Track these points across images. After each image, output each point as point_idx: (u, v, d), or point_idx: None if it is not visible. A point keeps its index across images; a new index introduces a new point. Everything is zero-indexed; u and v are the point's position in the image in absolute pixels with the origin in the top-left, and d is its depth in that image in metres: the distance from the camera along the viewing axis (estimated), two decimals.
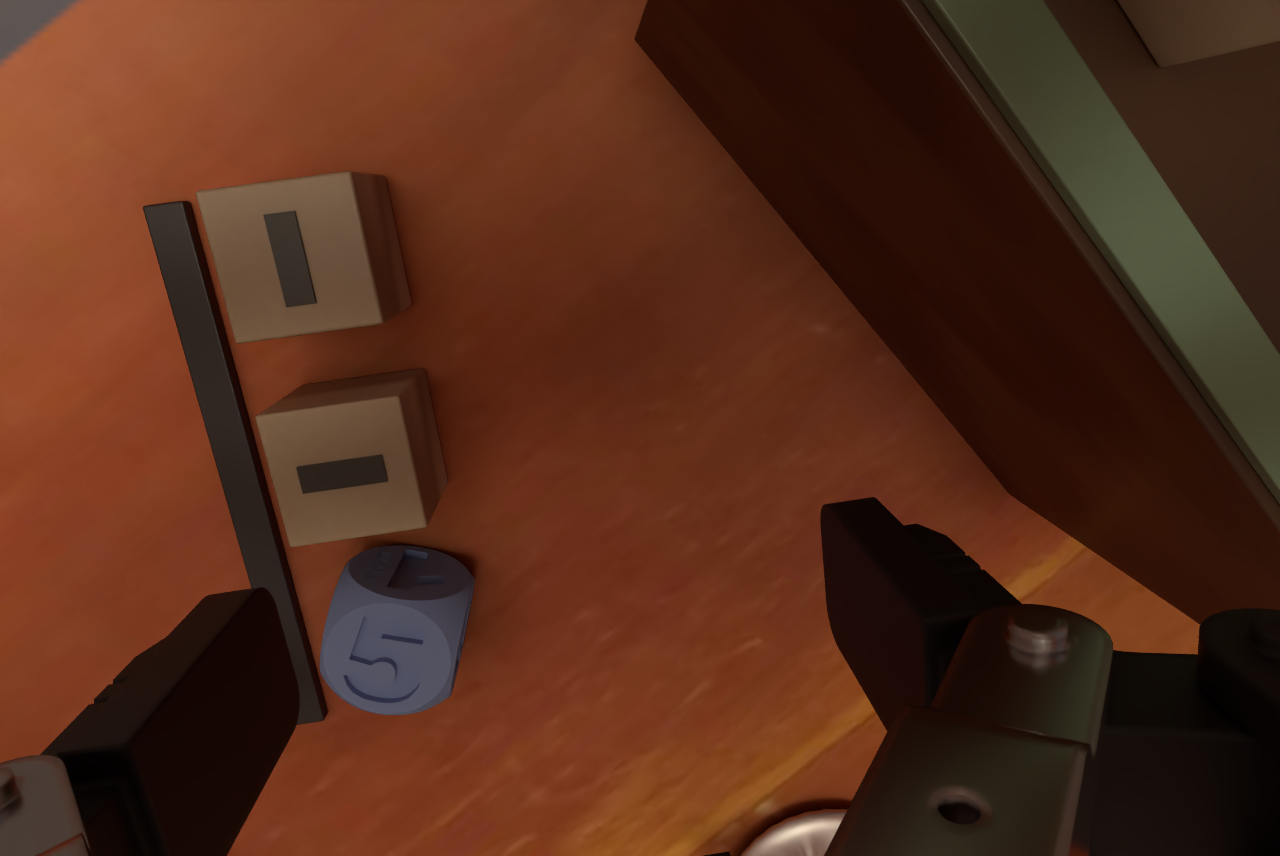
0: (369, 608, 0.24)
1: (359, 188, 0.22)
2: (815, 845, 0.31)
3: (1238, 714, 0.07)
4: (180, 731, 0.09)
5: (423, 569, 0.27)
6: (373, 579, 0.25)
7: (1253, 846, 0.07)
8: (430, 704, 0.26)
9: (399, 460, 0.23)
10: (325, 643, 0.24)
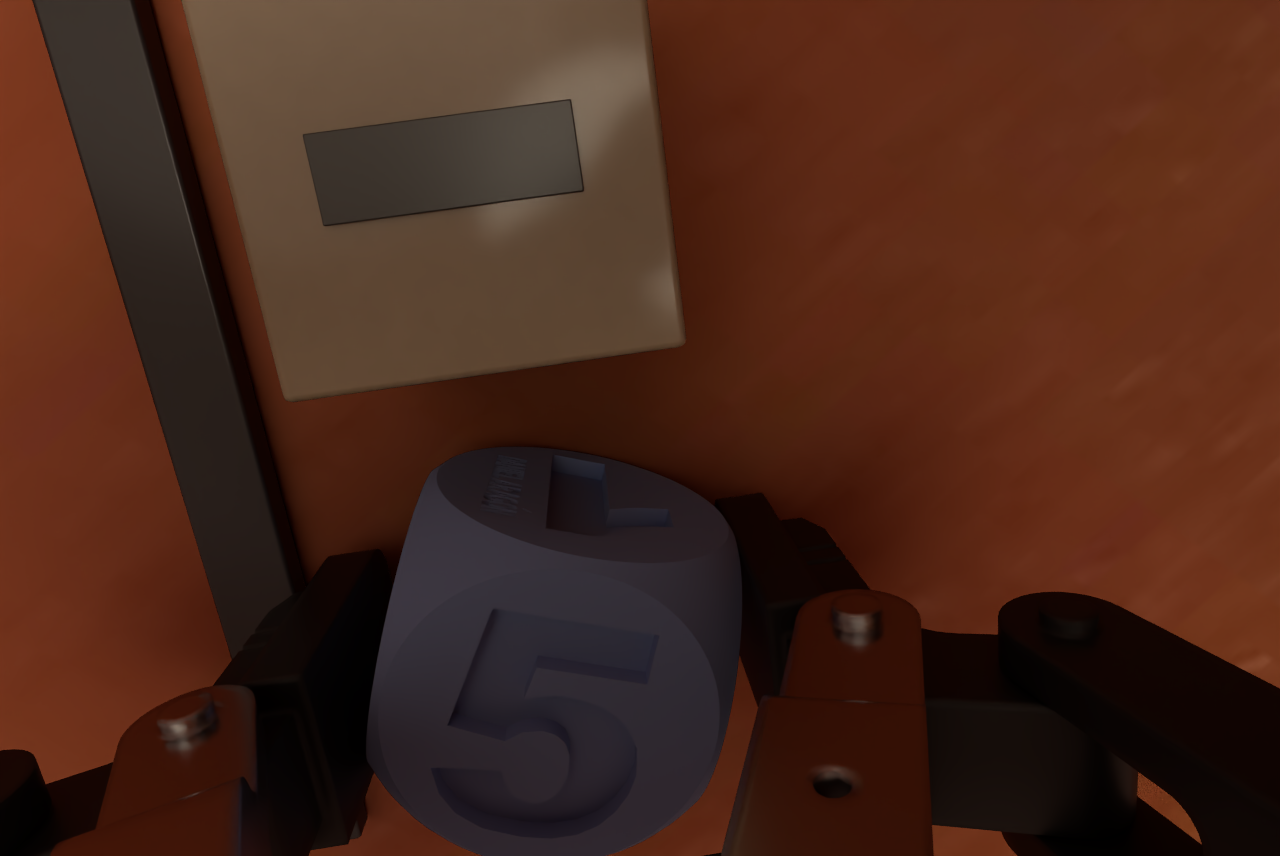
0: (510, 583, 0.09)
1: None
2: None
3: (1020, 686, 0.07)
4: (333, 671, 0.10)
5: (612, 494, 0.11)
6: (506, 510, 0.10)
7: (1039, 806, 0.08)
8: (650, 836, 0.10)
9: (622, 123, 0.07)
10: (383, 682, 0.09)
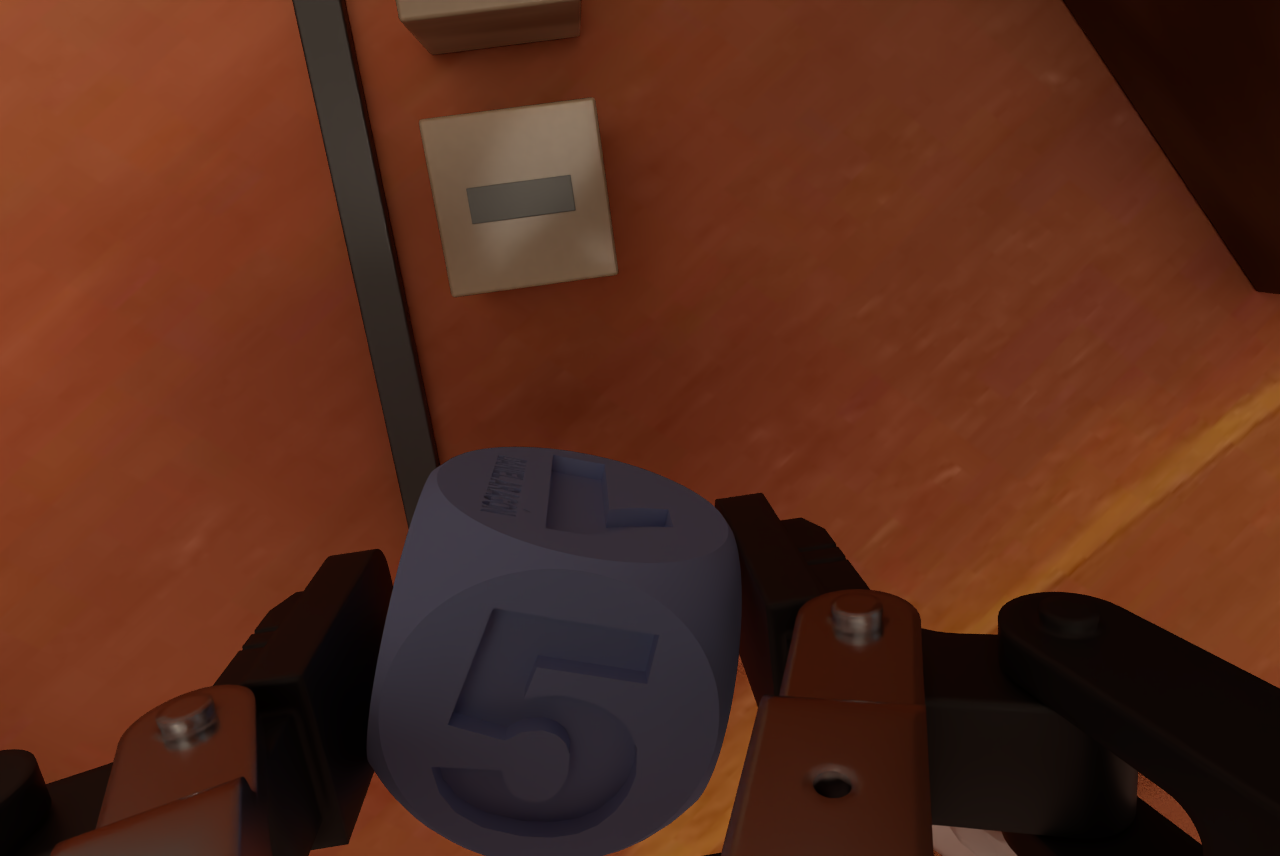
0: (510, 584, 0.09)
1: None
2: None
3: (1020, 686, 0.07)
4: (333, 671, 0.10)
5: (612, 494, 0.11)
6: (506, 510, 0.10)
7: (1039, 806, 0.08)
8: (650, 835, 0.10)
9: (590, 183, 0.19)
10: (384, 682, 0.09)
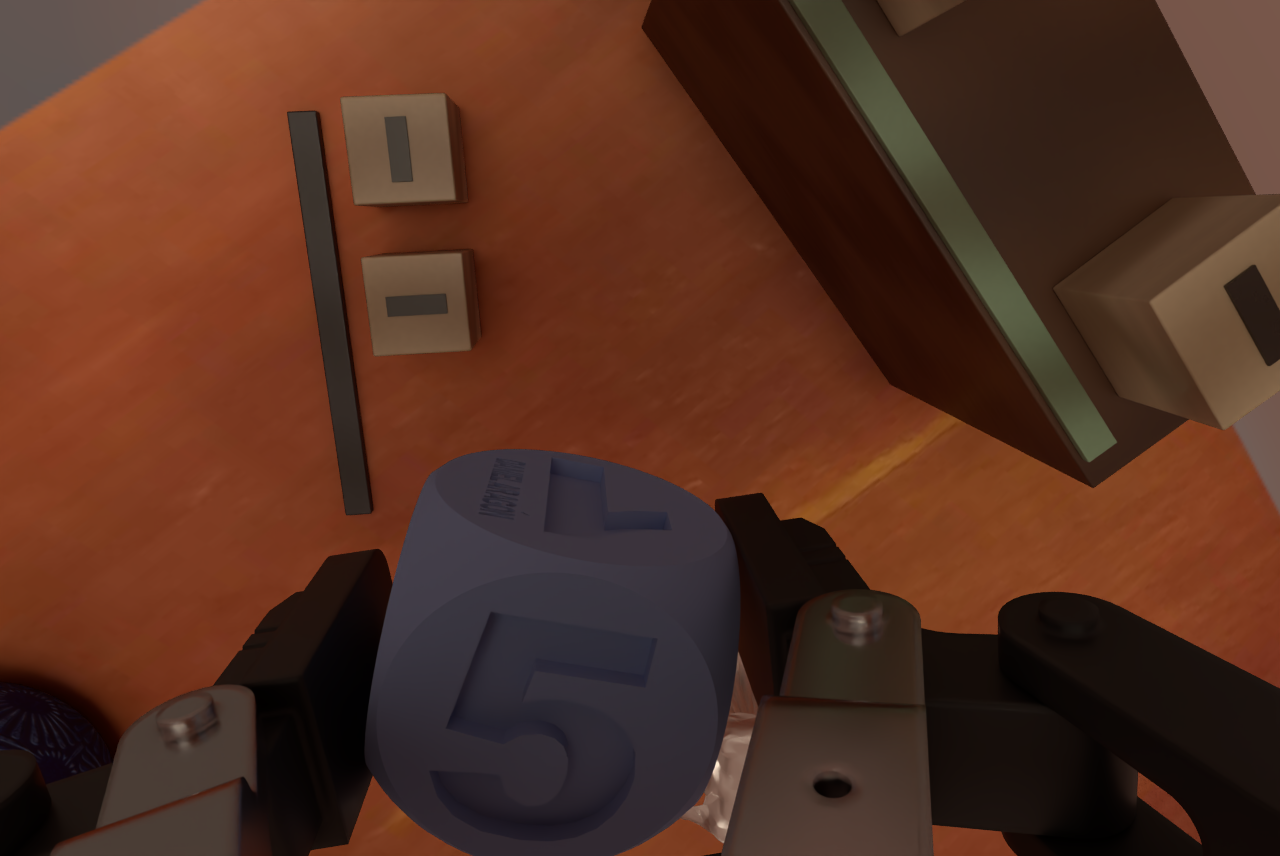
0: (509, 587, 0.09)
1: (448, 106, 0.32)
2: None
3: (1020, 686, 0.07)
4: (333, 671, 0.10)
5: (610, 496, 0.11)
6: (504, 513, 0.10)
7: (1039, 806, 0.08)
8: (648, 839, 0.10)
9: (457, 299, 0.33)
10: (382, 685, 0.09)
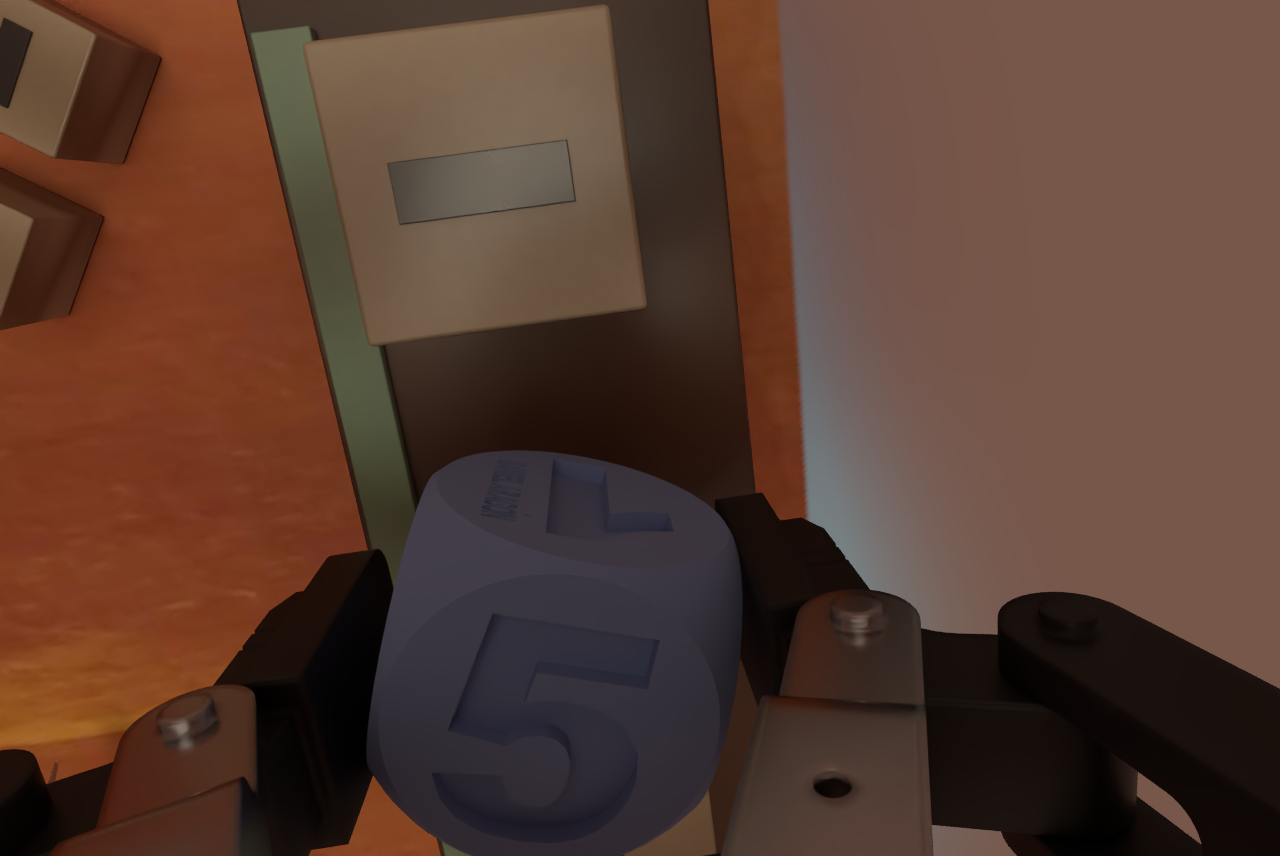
0: (511, 589, 0.09)
1: (102, 51, 0.25)
2: None
3: (1020, 686, 0.07)
4: (333, 671, 0.10)
5: (612, 498, 0.11)
6: (506, 514, 0.10)
7: (1039, 806, 0.08)
8: (650, 840, 0.10)
9: (3, 267, 0.26)
10: (384, 687, 0.09)
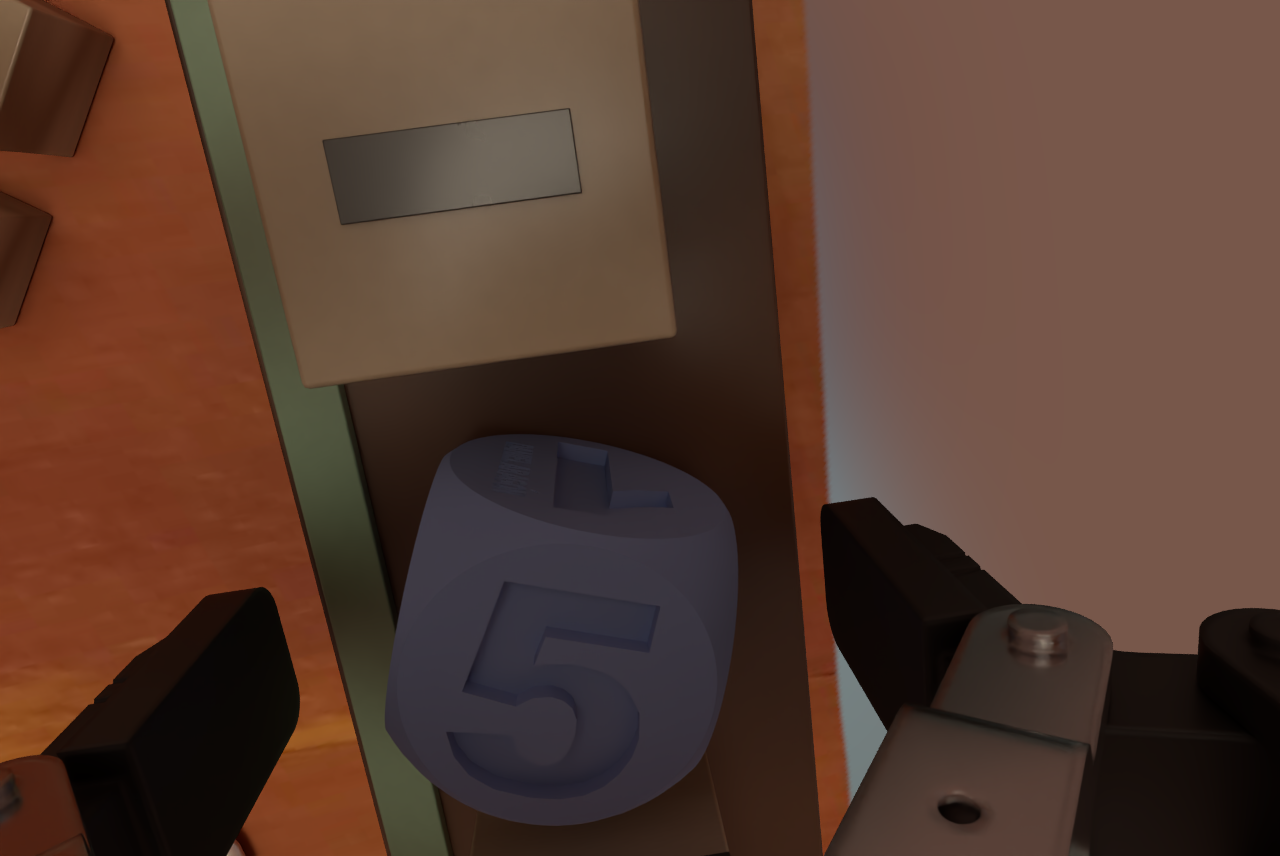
0: (521, 558, 0.09)
1: (40, 28, 0.22)
2: None
3: (1238, 714, 0.07)
4: (180, 731, 0.09)
5: (615, 477, 0.11)
6: (516, 490, 0.10)
7: (1253, 846, 0.07)
8: (652, 798, 0.10)
9: None
10: (402, 650, 0.09)
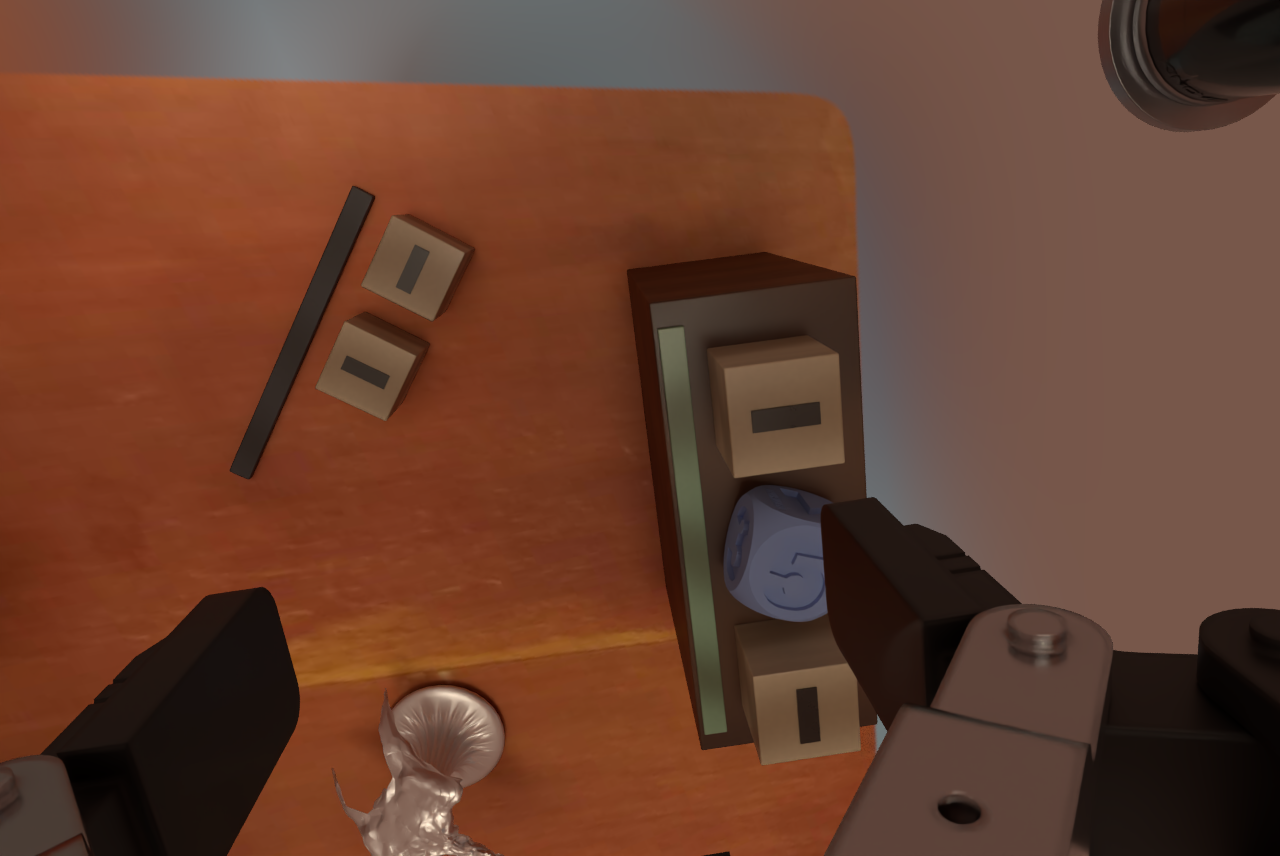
0: (792, 529, 0.29)
1: (463, 259, 0.42)
2: (457, 707, 0.52)
3: (1238, 714, 0.07)
4: (180, 731, 0.09)
5: (807, 502, 0.32)
6: (782, 508, 0.30)
7: (1253, 846, 0.07)
8: (825, 613, 0.31)
9: (395, 383, 0.43)
10: (752, 559, 0.30)
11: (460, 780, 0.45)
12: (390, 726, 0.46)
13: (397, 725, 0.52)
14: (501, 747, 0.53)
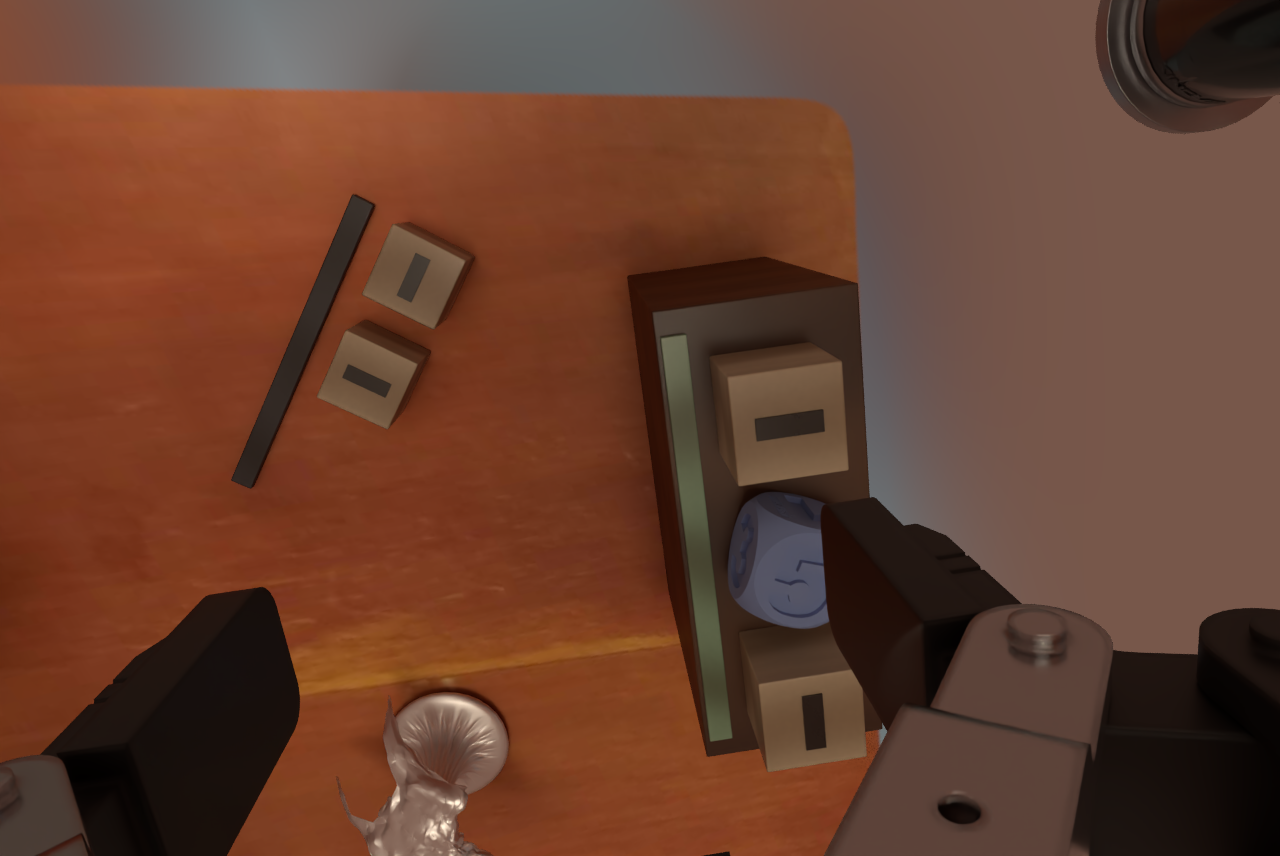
0: (797, 537, 0.29)
1: (464, 267, 0.42)
2: (461, 714, 0.52)
3: (1238, 714, 0.07)
4: (180, 731, 0.09)
5: (811, 509, 0.32)
6: (787, 515, 0.30)
7: (1253, 846, 0.07)
8: None
9: (397, 392, 0.43)
10: (757, 566, 0.30)
11: (465, 788, 0.45)
12: (395, 734, 0.46)
13: (401, 732, 0.52)
14: (505, 753, 0.53)
